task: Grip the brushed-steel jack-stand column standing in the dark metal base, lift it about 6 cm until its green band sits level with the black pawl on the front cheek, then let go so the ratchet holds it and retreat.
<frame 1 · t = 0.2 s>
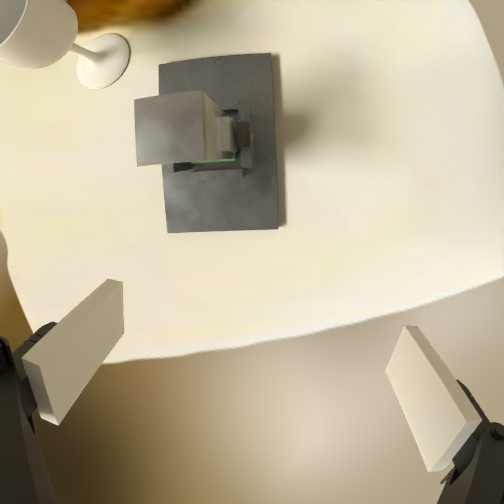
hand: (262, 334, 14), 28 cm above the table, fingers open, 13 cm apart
stand base: (217, 142, 38), on the table
wineglass: (102, 61, 35), on the table
column: (202, 136, 28), point 11 cm above the table, slide at 0.0 cm, touching stand base
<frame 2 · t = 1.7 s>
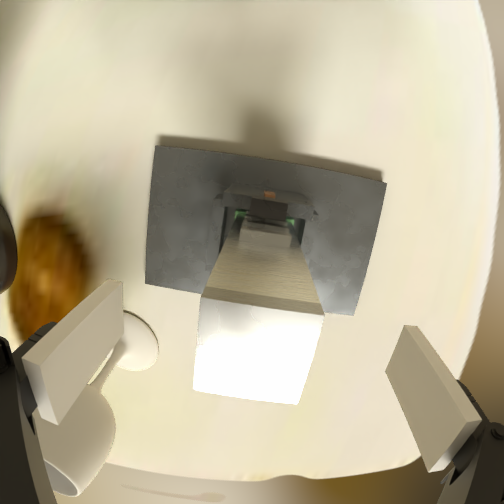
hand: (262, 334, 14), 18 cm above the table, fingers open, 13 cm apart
stand base: (261, 231, 31), on the table
wineglass: (126, 341, 36), on the table
column: (259, 267, 21), point 11 cm above the table, slide at 0.0 cm
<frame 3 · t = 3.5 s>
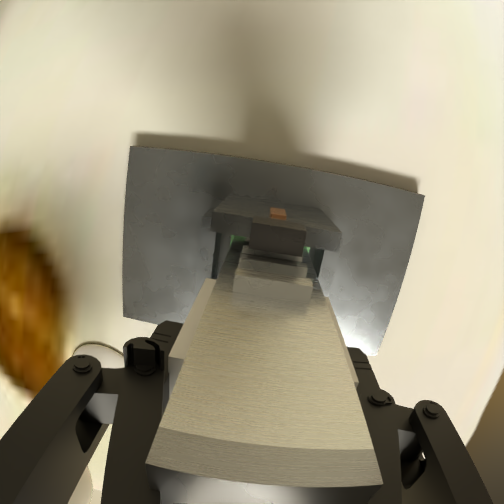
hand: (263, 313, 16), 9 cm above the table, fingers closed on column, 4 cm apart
stand base: (265, 255, 24), on the table
wineglass: (107, 376, 30), on the table
column: (263, 323, 14), point 11 cm above the table, slide at 0.0 cm, touching gripper, stand base
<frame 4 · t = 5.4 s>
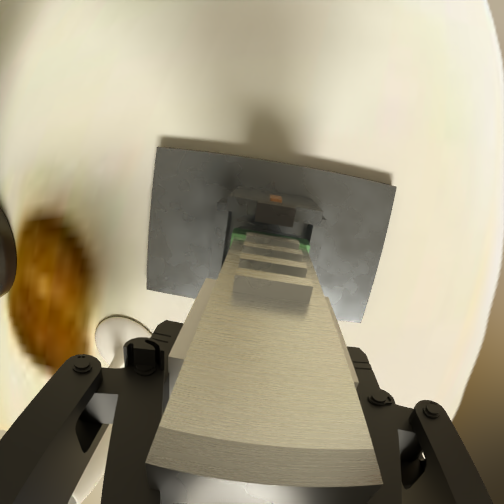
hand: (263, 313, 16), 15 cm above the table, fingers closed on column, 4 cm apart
stand base: (266, 236, 30), on the table
wineglass: (127, 347, 35), on the table
column: (263, 323, 14), point 17 cm above the table, slide at 5.9 cm, touching gripper
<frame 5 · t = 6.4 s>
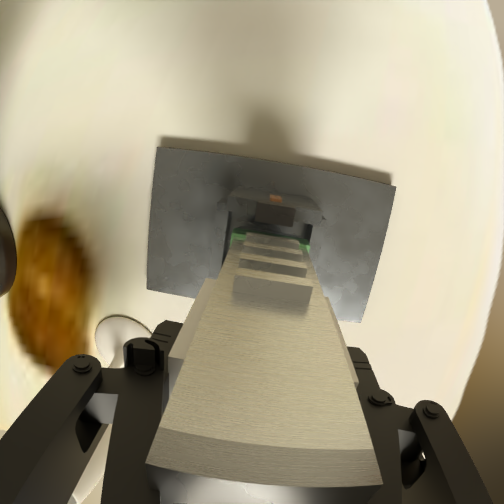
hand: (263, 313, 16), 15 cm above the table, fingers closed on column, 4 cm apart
stand base: (266, 236, 30), on the table
wineglass: (127, 346, 35), on the table
column: (263, 323, 14), point 17 cm above the table, slide at 6.0 cm, touching gripper
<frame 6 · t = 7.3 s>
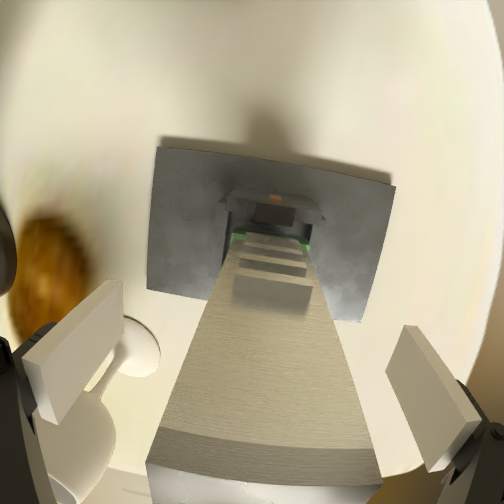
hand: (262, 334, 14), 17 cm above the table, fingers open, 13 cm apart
stand base: (266, 236, 30), on the table
wineglass: (127, 346, 35), on the table
column: (263, 323, 14), point 17 cm above the table, slide at 6.0 cm
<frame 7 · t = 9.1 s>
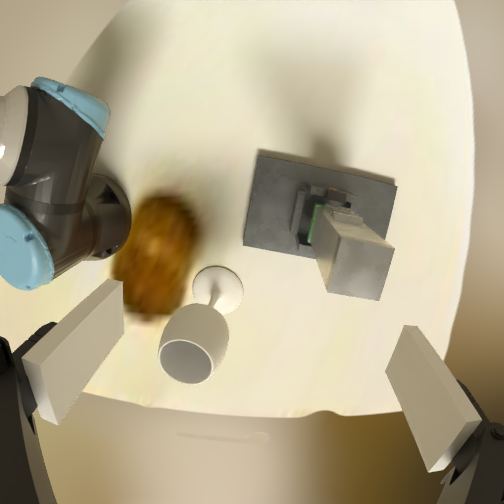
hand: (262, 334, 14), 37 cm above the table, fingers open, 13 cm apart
stand base: (320, 213, 49), on the table
wineglass: (217, 290, 54), on the table
column: (340, 238, 33), point 17 cm above the table, slide at 6.0 cm
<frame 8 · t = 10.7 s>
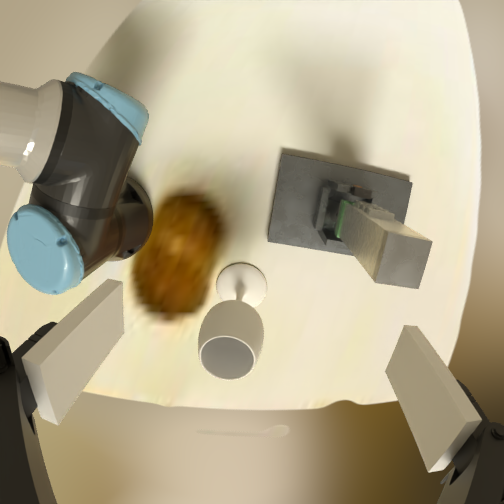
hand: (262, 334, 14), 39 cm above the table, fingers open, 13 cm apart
stand base: (341, 209, 50), on the table
wineglass: (241, 286, 55), on the table
column: (373, 232, 34), point 17 cm above the table, slide at 6.0 cm
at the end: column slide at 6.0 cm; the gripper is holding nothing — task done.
